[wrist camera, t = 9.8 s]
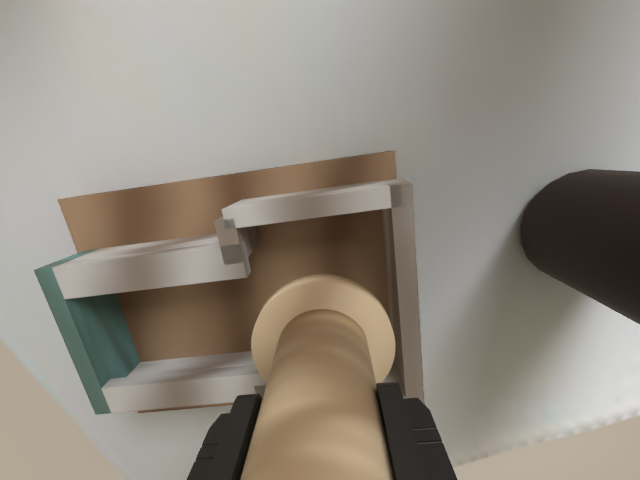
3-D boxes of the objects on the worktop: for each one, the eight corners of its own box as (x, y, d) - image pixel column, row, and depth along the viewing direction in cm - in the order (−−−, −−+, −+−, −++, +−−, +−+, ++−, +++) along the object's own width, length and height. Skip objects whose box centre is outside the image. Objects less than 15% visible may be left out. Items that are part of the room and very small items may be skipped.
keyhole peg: (385, 265, 13) (631, 737, 2) (395, 385, 15) (565, 972, 4) (244, 282, 13) (-71, 747, 3) (269, 396, 15) (130, 956, 5)
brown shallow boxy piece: (389, 151, 18) (409, 149, 13) (405, 373, 22) (425, 431, 17) (78, 196, 19) (-2, 209, 15) (150, 397, 23) (106, 456, 19)
